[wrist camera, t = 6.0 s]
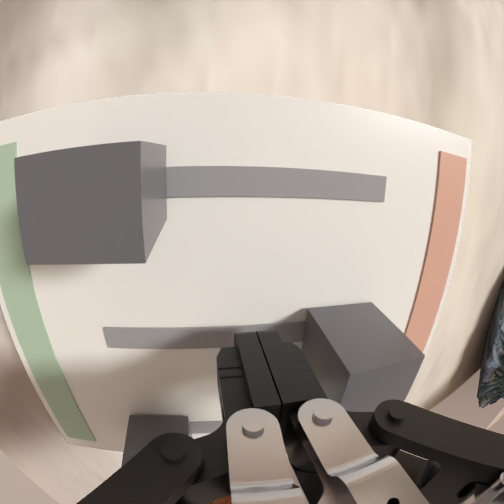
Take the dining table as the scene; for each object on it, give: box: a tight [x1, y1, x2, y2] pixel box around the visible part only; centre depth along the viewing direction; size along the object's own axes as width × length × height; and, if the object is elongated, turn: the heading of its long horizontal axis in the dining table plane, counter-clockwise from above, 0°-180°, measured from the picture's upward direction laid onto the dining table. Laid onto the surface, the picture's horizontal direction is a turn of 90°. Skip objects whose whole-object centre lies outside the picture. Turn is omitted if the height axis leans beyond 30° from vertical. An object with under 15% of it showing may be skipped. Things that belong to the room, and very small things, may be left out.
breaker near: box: [14, 141, 167, 265], centre depth 7 cm, size 3×2×4 cm
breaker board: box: [0, 92, 472, 452], centre depth 13 cm, size 22×18×3 cm
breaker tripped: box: [302, 302, 425, 412], centre depth 10 cm, size 3×2×4 cm
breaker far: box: [122, 415, 192, 466], centre depth 11 cm, size 3×2×4 cm
